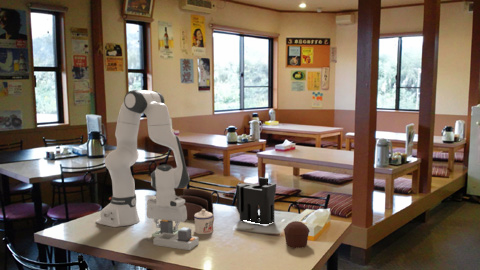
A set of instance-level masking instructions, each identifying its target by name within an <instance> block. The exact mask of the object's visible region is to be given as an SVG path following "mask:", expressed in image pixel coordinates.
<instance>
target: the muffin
mask: <svg viewBox="0 0 480 270" xmlns="http://www.w3.org/2000/svg"><path fill="white" fill-rule="evenodd" d="M310 231H311V230H310V229H309V227H308V226H307V224H305V223H303V222H302V221H297V220H295V221H291V222H289V223H288V224H286V226H285V227H284V228H283V233H284V237H285V244H286V246H287V247H288V248H292V249H302V248H305V247H307V245H308V240H309V239H308V238H309V233H310Z"/></svg>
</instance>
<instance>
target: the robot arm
mask: <svg viewBox="0 0 480 270" xmlns="http://www.w3.org/2000/svg"><path fill="white" fill-rule="evenodd" d="M123 98H124V99H123V102H122V103H121V106H120V108H119V113H118V115H117V122H116V126H115V134H114V136H115V139H116V147H115V148H116V149H113V150H112V151H110V152H109V153H108V154H107V155H106V157H105V158H104V165H105V168H106V169H107V170H108V172H109V175H110V178H111V185H112V186H111V187H112V195H111V196H110V197H108V200H109V201H110V203H108V204H107V205H106V206H105V207H104V208H102V209H101V212H100V217H99V218H97V219H96V220H95V223H96V224H100V225H104V226H108V227H112V228H119V227H123V226H124V227H125V226H131V225H135V224H137V223H139V222H140V217H139V214H138V209H137V194H136V188H135V179H134V177H133V175H132V171H131V167H132V166H133V165H134V164H136V162H137V161H138V159H139V152H138V135H139V129H140V124H141V118H142V115H143V114H144V115H145V116H146V120H147V123H146V124H147V133H148V134H147V135H148V137H149V139H150V140H151V141H152V142H154V143H156V144H158V145H161V146H164V147H167V148H169V149H171V151H172V152H173V156H174V160H175V164H176V167H175V168H173V166H172V165H170V164H161V165H157V166H156V168H155V170H153V171H152V172H151V173H150V180H151V181H150V186H151V187H152V188H153V189H154V190H156V193H155V198H149V199H148V200H147V201H146V206H147V207H146V217H147V218H148V219H152V220H153V222H154V224H155V229H160V221H161V220H169V221H173V222H174V223H175V225H173V230H178V229H179V226H180V223H184V222H185V221H187V220H188V219H187V210H186V206H185V205H184V203H185V200H184V199H183V198H180V197H179V195H176V191H175V189H186V187H187V186H189V184H190V175H189V172H188V169H187V166H186V161H185V157H184V152H183V149H182V145H181V142H180V139H179V136H178V135H176V134H175V133H174V132H173V130H172V125H171V116H170V112H169V108H168V106H167V104H165V98H164V95H163V94H162V93H160V92H158V91H154V90H147V89H143V90H142V89H133V90H129V91H128V92H127V93H125V95H124V97H123ZM159 220H160V221H159Z"/></svg>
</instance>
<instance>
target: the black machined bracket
mask: <svg viewBox="0 0 480 270" xmlns="http://www.w3.org/2000/svg"><path fill="white" fill-rule="evenodd" d="M235 191H236V192H235V193H236V194H235V196H236V198H235V199H236V210H237V212H238V214H239V221H240V222H241V221H243V220H247V221H251V222H255V223H260V224H269V223H272V222H274V223H275V196H276V192H277V182H270V183H269V178H268V177H262V176H259V177H258V183H248V182H247V183H238V184H236V185H235ZM258 218H260V220H259V219H258ZM250 219H251V220H250Z"/></svg>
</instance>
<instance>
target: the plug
mask: <svg viewBox="0 0 480 270" xmlns="http://www.w3.org/2000/svg"><path fill="white" fill-rule="evenodd" d="M173 223H174V221H169V220H160V221H159V224H160V228H159V230H160V234H162V233H163V232H164V233H171V234H174V231H173V229H174V228H173V227H174V224H173Z"/></svg>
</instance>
